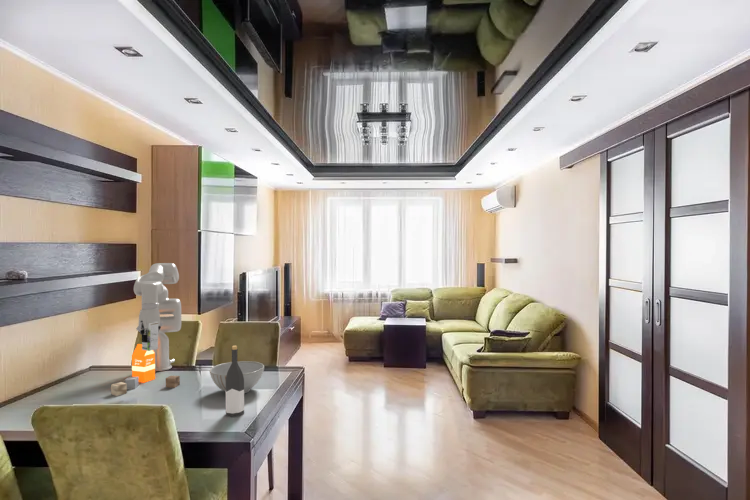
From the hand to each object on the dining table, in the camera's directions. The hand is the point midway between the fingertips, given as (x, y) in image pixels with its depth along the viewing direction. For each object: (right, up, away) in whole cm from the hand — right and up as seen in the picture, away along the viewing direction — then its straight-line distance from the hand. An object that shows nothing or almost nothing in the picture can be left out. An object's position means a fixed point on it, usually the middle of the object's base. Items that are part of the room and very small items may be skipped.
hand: (150, 340), depth 233 cm
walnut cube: (+10, -25, +5) cm, 28 cm away
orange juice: (-12, -26, +16) cm, 33 cm away
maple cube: (-12, -26, -7) cm, 29 cm away
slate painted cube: (-11, -26, +3) cm, 28 cm away
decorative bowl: (+47, -25, -4) cm, 53 cm away
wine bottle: (+55, -26, -35) cm, 70 cm away
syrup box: (0, -5, 0) cm, 5 cm away
